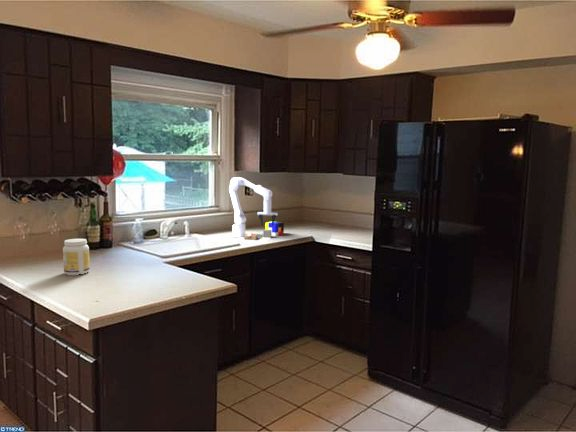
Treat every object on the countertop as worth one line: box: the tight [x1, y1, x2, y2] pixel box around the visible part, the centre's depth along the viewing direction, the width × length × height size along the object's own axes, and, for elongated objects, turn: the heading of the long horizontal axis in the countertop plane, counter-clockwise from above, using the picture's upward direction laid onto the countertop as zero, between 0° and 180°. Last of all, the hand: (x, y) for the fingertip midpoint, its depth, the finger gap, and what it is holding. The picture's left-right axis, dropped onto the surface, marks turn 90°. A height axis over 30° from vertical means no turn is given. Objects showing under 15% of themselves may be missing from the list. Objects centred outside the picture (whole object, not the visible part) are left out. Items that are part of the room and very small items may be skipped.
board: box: [259, 237, 271, 242], centre depth 338 cm, size 8×20×1 cm, turn 172°
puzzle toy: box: [264, 220, 285, 237], centre depth 357 cm, size 10×10×10 cm
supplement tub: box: [62, 238, 91, 276], centre depth 237 cm, size 12×12×17 cm
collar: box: [243, 233, 259, 241], centre depth 338 cm, size 8×8×3 cm
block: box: [262, 229, 272, 239], centre depth 345 cm, size 5×5×5 cm
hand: (267, 225), depth 344 cm, fingers open, 7 cm apart
